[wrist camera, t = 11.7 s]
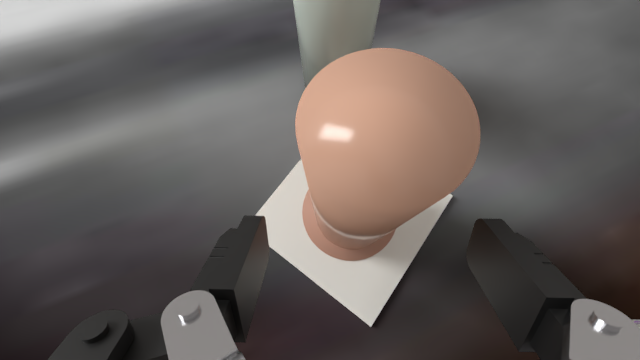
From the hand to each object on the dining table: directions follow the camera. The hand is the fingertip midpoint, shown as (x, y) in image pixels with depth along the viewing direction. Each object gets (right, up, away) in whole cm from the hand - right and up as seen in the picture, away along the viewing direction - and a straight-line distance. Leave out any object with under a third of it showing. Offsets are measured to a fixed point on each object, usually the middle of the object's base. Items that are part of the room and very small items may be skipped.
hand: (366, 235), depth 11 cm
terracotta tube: (0, 0, +8) cm, 8 cm away
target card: (0, 0, +8) cm, 8 cm away
